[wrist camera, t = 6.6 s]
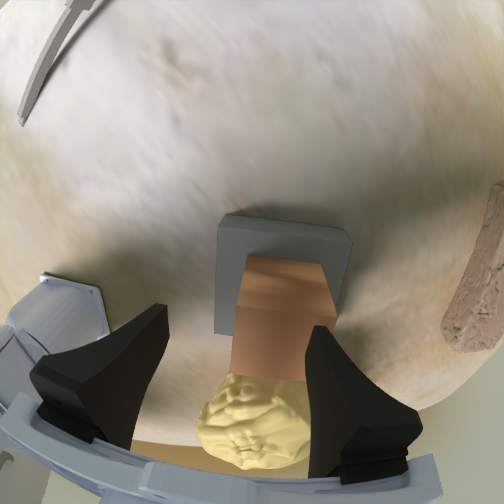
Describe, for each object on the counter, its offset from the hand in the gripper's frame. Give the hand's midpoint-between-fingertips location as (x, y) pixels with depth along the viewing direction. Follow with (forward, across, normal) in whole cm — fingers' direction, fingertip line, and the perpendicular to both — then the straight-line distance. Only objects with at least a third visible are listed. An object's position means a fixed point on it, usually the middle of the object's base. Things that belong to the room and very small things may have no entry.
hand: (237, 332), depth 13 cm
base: (+10, -2, +2) cm, 10 cm away
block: (+7, -2, +1) cm, 7 cm away
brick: (+10, -25, -2) cm, 27 cm away
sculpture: (+10, -4, +15) cm, 18 cm away
